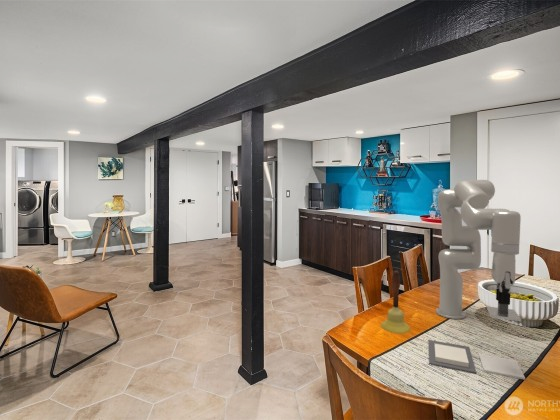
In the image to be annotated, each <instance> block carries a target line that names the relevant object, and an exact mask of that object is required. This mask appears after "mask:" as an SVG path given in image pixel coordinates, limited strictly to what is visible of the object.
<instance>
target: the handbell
mask: <svg viewBox="0 0 560 420" xmlns="http://www.w3.org/2000/svg"><path fill="white" fill-rule="evenodd" d="M391 288H392V290H393V292H392V294H393V295H392V296H393V298H392V308H390V309H389V310H388V311H387V318H386V319H385V320H383V321H382V322H381V323H380V328H382V329H383V330H384V331H386V332H388V333H392V334H399V335H401V334H408V333H409V332H410V331H411V327H410V326H409V324H408V323H407V322H406V321H405V320H404V319H405V316H404V315H405V314H404V312H403V310H401V309H400V308H399V294H400V293H399V292H400V291H399V290H400V288H401V276H400V272H399V270H394V271H392V276H391Z"/></svg>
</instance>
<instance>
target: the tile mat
mask: <svg viewBox="0 0 560 420" xmlns="http://www.w3.org/2000/svg"><path fill="white" fill-rule="evenodd" d="M427 340H428V341H427V342H428V365H430V364H431V365H430V366H437V367H440V366H441V367H440V368H444V369H451V370H454V371H460V372H464V373H465V372H466V373H470V374H474V375H477V369H476V366H475V362H474V359H473V355H472V352H471V348H470V346H469V345H468V346H466V345H461V344H455V343H449V342H444V341H438V340H432V339H427ZM435 344H440V345H446V346H451V347H457V348H463V349H465V350H466V354H467V358H468V362H469V368H468V367H463V366H458V365H453V364H448V363H443V362H437V361H435Z"/></svg>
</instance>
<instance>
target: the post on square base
mask: <svg viewBox="0 0 560 420" xmlns="http://www.w3.org/2000/svg"><path fill="white" fill-rule="evenodd" d="M503 286H504V285H502V287H503ZM497 289H498V291H500V285H498V288H497ZM486 311H487V312H488V315H489V317H490V318H493V319H499V320H510V321H517V322H521V321H522V320H521V319H522V318H521V317H520V316H519V315H518V313H517V311H516V310H515V309H511V308H509V305H506V304H499V303H498V302H497V307H493V306H486Z"/></svg>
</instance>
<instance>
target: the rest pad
mask: <svg viewBox="0 0 560 420" xmlns="http://www.w3.org/2000/svg"><path fill="white" fill-rule="evenodd" d="M478 357H479V361H480V363H481V367H482V370H483V372H485V373H489V374H495V375H500V376H503V377H510V378H514V379H519V380H524V381H525V380H526V377H525V375H524V373H523V371H522V369H521V367H520V366H519V363H518V362H517V360H516V359H510V358H504V357H499V356H496V355H495V356H493V355H488V354H484V353H483V354H482V353H478Z"/></svg>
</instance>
